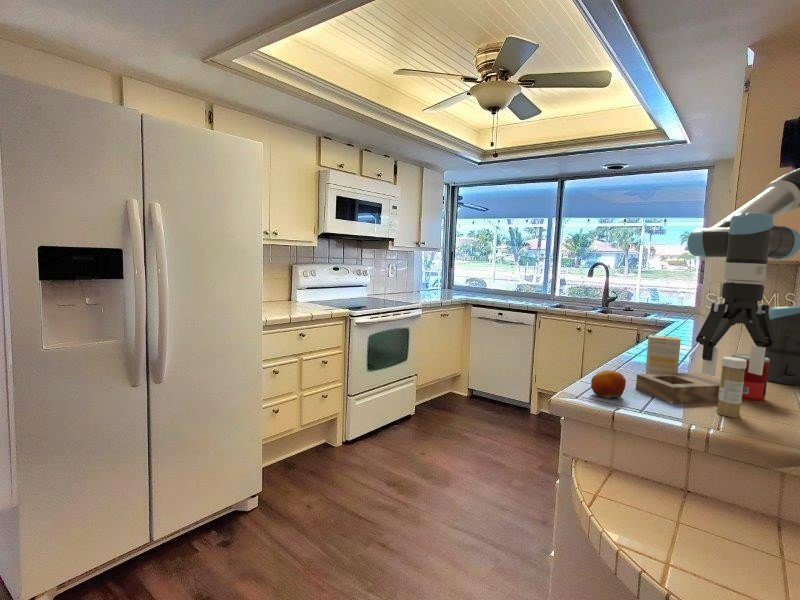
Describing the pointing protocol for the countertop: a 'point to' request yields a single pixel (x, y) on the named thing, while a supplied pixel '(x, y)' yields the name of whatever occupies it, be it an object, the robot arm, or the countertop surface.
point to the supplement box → (662, 354)
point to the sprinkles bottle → (731, 386)
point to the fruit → (608, 384)
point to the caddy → (679, 386)
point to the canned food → (754, 380)
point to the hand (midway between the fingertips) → (731, 374)
